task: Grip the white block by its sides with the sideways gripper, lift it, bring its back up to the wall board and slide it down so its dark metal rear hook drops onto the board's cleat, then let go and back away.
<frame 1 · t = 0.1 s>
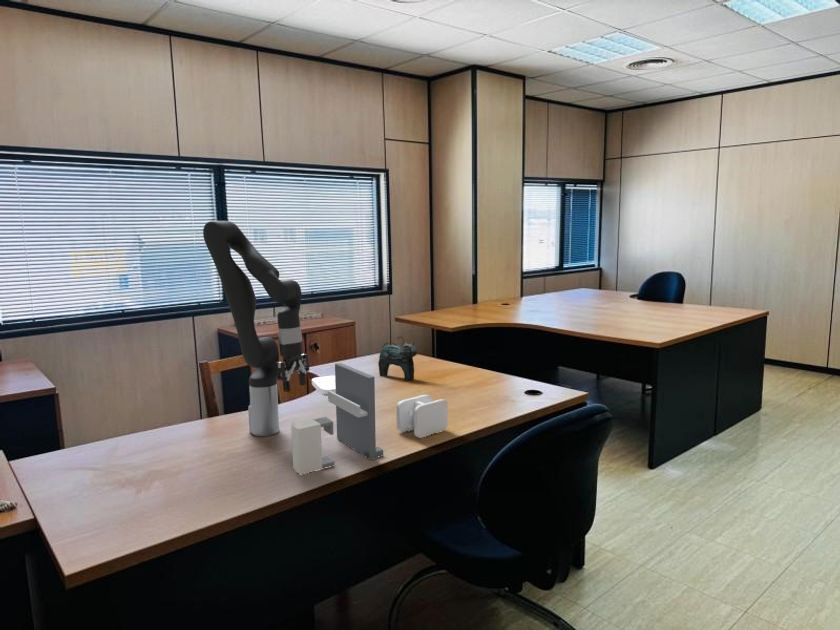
hand: (295, 388, 192), 17 cm above the table, tool pointing down, fingers open, 8 cm apart
ceramic cat: (396, 378, 269), on the table
white block: (307, 469, 169), on the table
wall board: (352, 449, 184), on the table
cable organizer: (421, 432, 199), on the table
mac mini: (340, 387, 257), on the table
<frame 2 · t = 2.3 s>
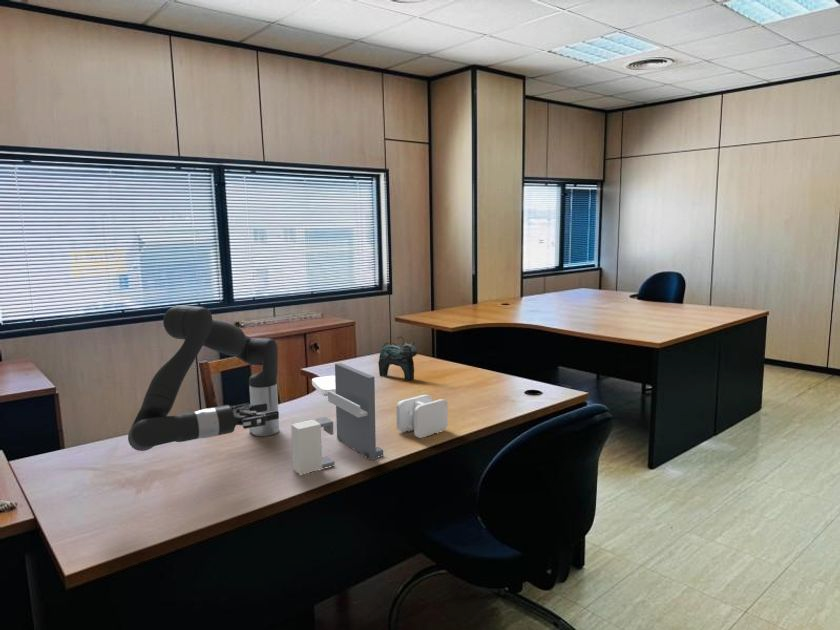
hand: (272, 410, 160), 20 cm above the table, tool horizontal, fingers open, 8 cm apart
nothing on the table moved.
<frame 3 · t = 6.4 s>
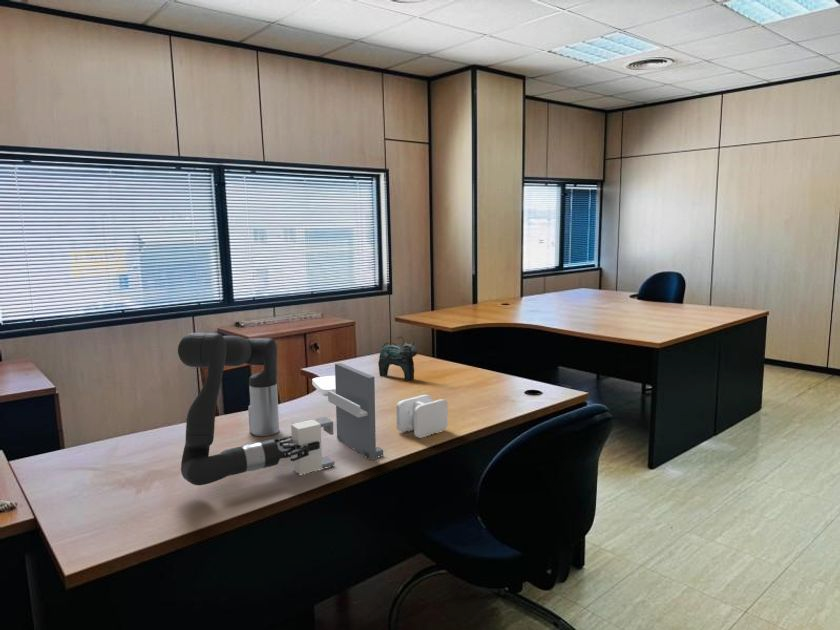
hand: (314, 441, 169), 8 cm above the table, tool horizontal, fingers closed on white block, 5 cm apart
white block: (307, 469, 169), on the table, touching gripper
everything else where it was.
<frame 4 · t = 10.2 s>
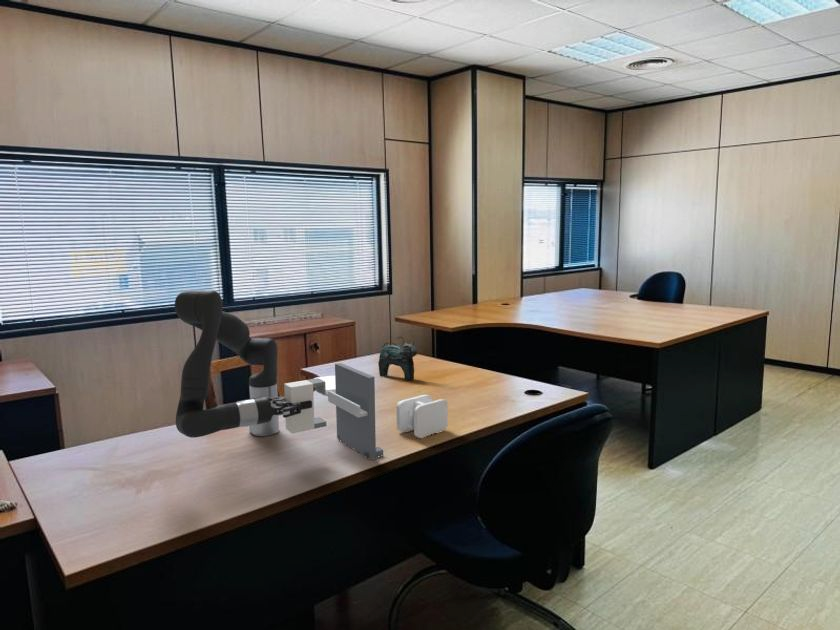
hand: (307, 401, 173), 19 cm above the table, tool horizontal, fingers closed on white block, 5 cm apart
white block: (300, 428, 172), point 11 cm above the table, touching gripper
everything else where it was.
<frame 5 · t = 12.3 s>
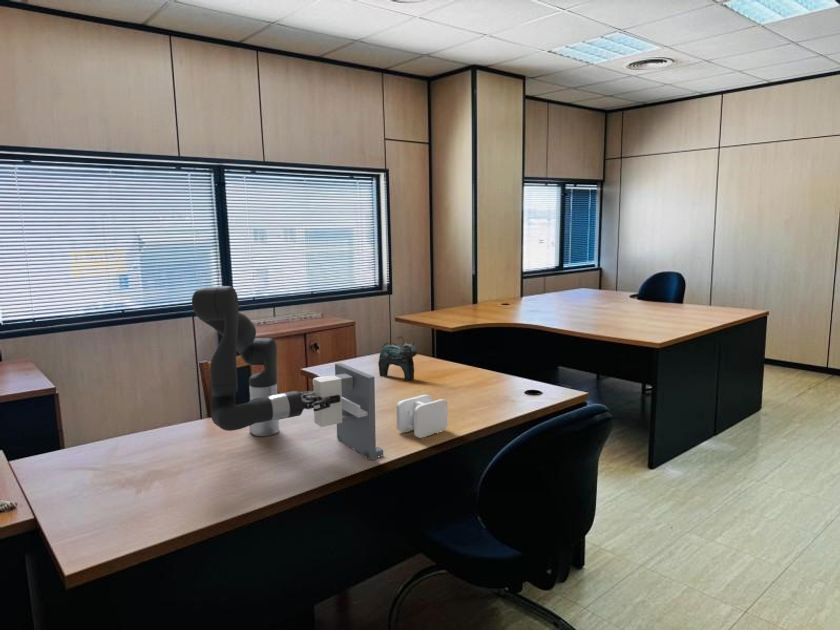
hand: (335, 396, 178), 19 cm above the table, tool horizontal, fingers closed on white block, 5 cm apart
white block: (328, 422, 178), point 11 cm above the table, touching gripper
everything else where it was.
when the fingers open (14 cm above the table, at t = 14.2 s): white block drops 1 cm, resting on wall board.
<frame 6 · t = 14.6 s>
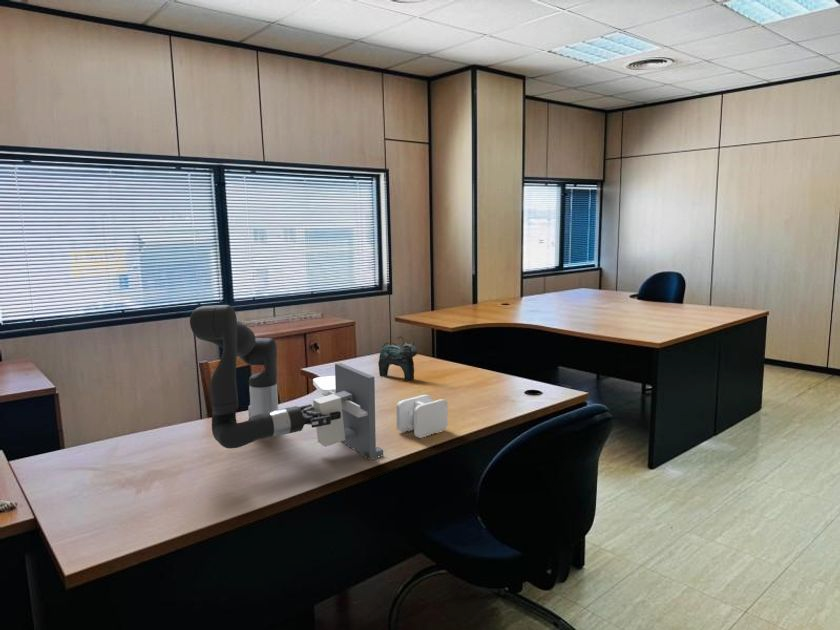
hand: (333, 410, 178), 14 cm above the table, tool horizontal, fingers open, 8 cm apart
white block: (331, 440, 179), point 4 cm above the table, touching wall board
everything else where it was.
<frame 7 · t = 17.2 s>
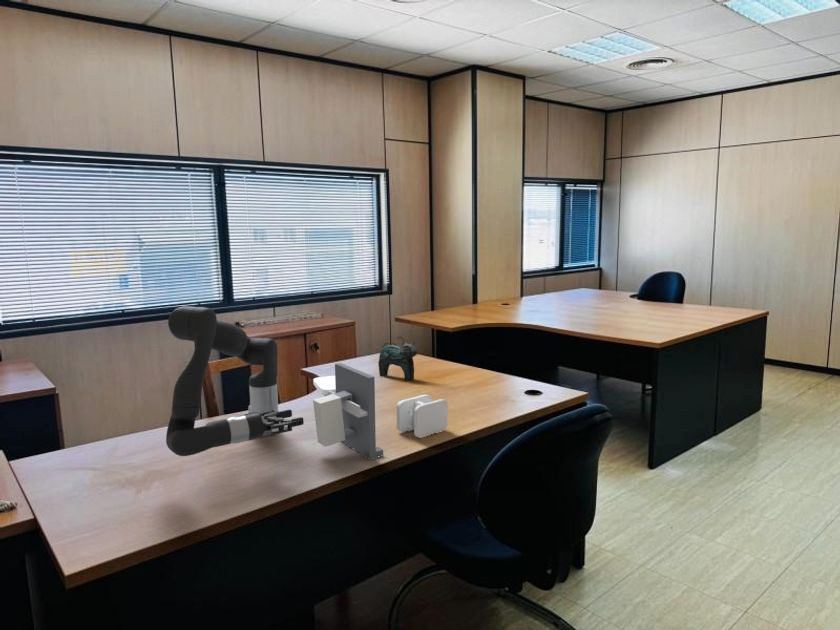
hand: (297, 416, 171), 15 cm above the table, tool horizontal, fingers open, 8 cm apart
nothing on the table moved.
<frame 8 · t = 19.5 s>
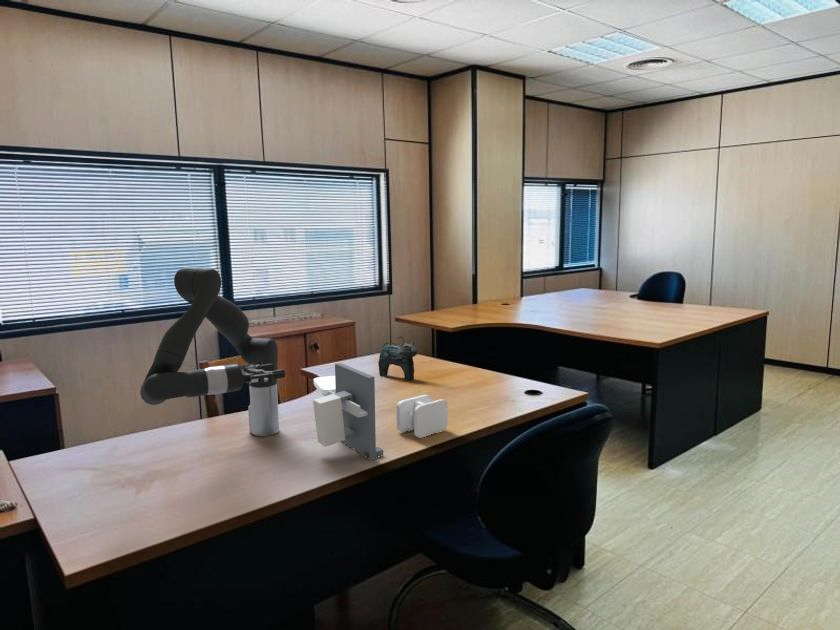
hand: (278, 370, 165), 30 cm above the table, tool horizontal, fingers open, 8 cm apart
nothing on the table moved.
at the end: white block inside the target area on the wall board (0.3 cm from its centre), point 4.5 cm above the wall board's base; white block touching wall board; the gripper is holding nothing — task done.
